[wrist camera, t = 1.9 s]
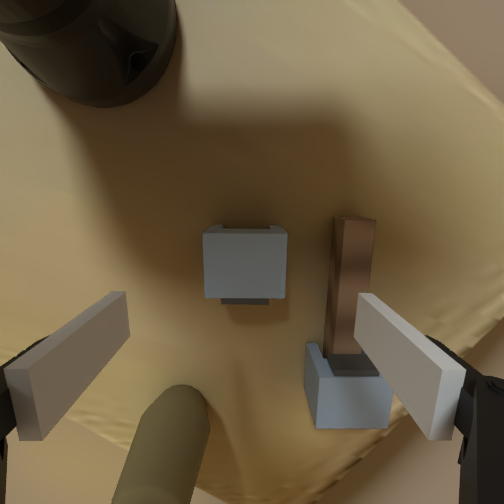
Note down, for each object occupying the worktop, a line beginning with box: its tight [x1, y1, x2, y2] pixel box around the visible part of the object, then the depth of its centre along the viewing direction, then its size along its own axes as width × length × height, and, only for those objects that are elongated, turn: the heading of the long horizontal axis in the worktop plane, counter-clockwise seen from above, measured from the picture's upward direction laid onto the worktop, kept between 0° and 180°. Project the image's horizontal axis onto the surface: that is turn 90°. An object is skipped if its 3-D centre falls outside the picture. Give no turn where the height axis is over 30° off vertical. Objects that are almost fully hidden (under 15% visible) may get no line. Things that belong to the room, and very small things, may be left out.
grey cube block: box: [202, 225, 288, 305], centre depth 26 cm, size 7×7×6 cm
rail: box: [322, 217, 376, 359], centre depth 29 cm, size 22×3×4 cm, turn 179°
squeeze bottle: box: [111, 385, 210, 504], centre depth 25 cm, size 8×8×18 cm
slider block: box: [304, 343, 393, 429], centre depth 29 cm, size 7×7×6 cm
